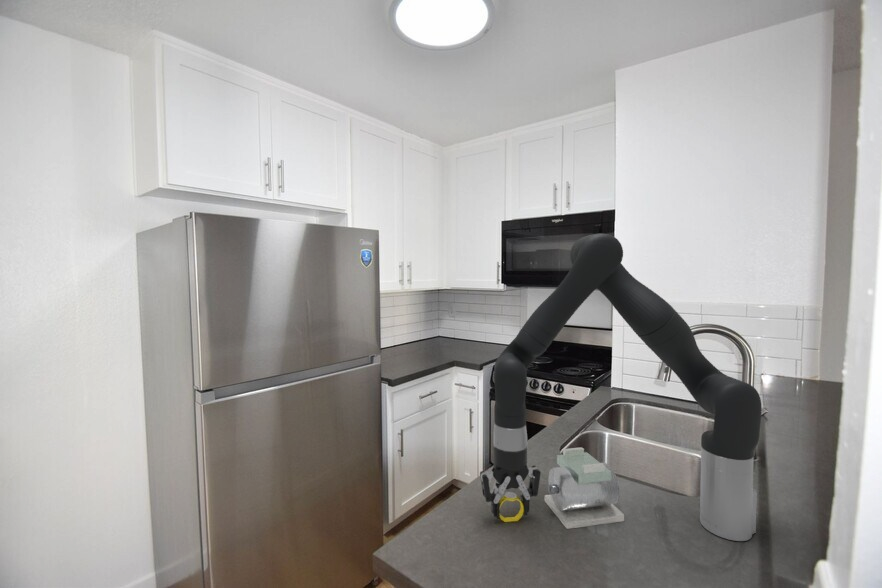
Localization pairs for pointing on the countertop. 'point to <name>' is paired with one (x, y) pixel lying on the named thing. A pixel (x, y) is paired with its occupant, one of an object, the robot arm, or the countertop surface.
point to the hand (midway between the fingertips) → (510, 515)
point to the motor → (583, 490)
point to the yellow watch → (511, 497)
